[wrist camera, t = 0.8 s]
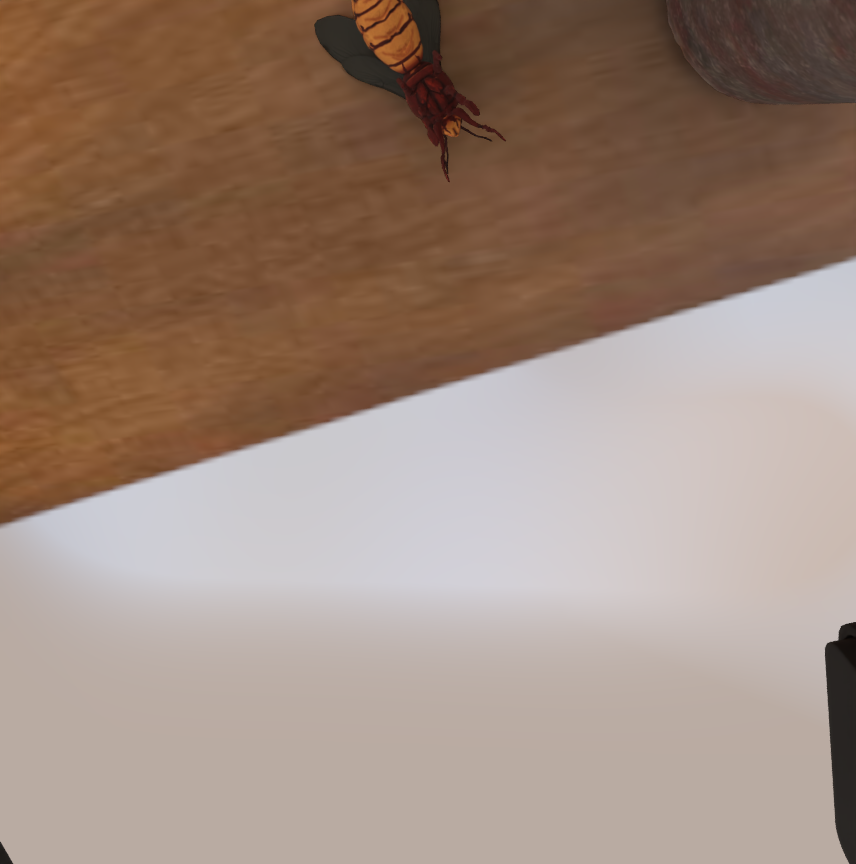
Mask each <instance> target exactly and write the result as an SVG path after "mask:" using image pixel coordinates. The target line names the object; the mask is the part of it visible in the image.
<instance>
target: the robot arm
mask: <svg viewBox="0 0 856 864" xmlns="http://www.w3.org/2000/svg"><path fill="white" fill-rule="evenodd" d="M825 661H826V677H827V694H828V707H829V708H828V709H829V726H830V743H831V759H832V774H833V790H834V807H835V823H836V830H837V834H838V838H839V841H840V844H841V847H842V849H843V851H844V854H845V856H846V858H847V860H848V862H849V864H856V622H853V623H849V624H845V625H843V626H841V628H840V630H839V640H838V641H833V642H829V643H827V645H826V647H825ZM0 864H13V863H12V861H11V859H10V858H9V856H8V854H7V852H6V851H5V849H4V847H3V845H2V844H1V842H0Z"/></svg>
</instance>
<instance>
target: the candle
mask: <svg viewBox="0 0 856 864" xmlns="http://www.w3.org/2000/svg"><path fill="white" fill-rule="evenodd" d="M666 1H667V12H668V22H669V25H670V27H671V30H672V32H673V35H674V38H675V41H676V42H677V43H678V44H679V45H680V47H681V50H682V52H683V55H684V57H685V58H686V59H687V61H688V62H689V63H690V64H691V66H692V67H693V68H694V69H695V70H696V71H697V72H698V73H699V75H700V76H701V77H702V78H703V79H704V80H705V81H706V82H707V83H708V84H710V85H711V86H712V87H713V88H714V89H715V90H717V91H719V92H721V93H724V94H726V95H728V96H730V97H733V98H736V99H739V100H743V101H746V102H750V103H759V104H775V105H776V104H830V103H856V0H666Z"/></svg>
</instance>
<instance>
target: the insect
mask: <svg viewBox="0 0 856 864" xmlns="http://www.w3.org/2000/svg"><path fill="white" fill-rule="evenodd" d="M352 9H353V14H354V17H355V20H354V19H350V18H347V17H344V16H340V15H335V16H327V17H324V18H322V19H320V20H317V22H316V23H315V31H316V35H317V37H318V39H319V41H320V44H321V45H322V46H323V47H324V48H325V49H326V50H327V51H328V53H329V54H330V55H331V56H332V57H333V58H335V59H336V60H337V61H339V62H340V63H341V64H342V66H343V68H344V69H345V71H346V72H347V73H348V74H350V75H351V76H353V77H355V78H356V79H358V80H360V81H362V82H365V83H368V84H370V85H373V86H376V87H379V88H383V89H385V90H387V91H390V92H392V93H394V94H396V95H398V96H400V97H402V98H404V99H405V100H407V103H408V105H409V107H410V109H411V110H412V112H413V113H414V114H415V115H416V116H417V117H418V118H421V120H422V122H423V123H424V124H425V127H426V128H427V129H428V137H429V139H430V140H431V142H432V143H433V144H434V145H435V146H438V144H439V141H440V145H441V149H442V156H441V163H442V169H443V171H444V174H445V176H446V179H447V180H448V182H450V180H449V177H448V175H447V174H448V147H447V137H446V136H448V135H449V136H452V137H457V136H458V135H459V132H460V128H461V129H463V130H465V131H467V132H469V133H470V134H472V135H474V136H476V137H480V138H484V139H487V140H489V141H492V140H490V139H488V138H486V137H483V136H478V135H475V134H474V133H472V132H471V131H469V130H468V129H466V128H464V127H462V126H461V123H462V119H463V120H464V121H466V122H467V123H469V124H471V125H473V126H475V127H478V128H482V129H486V131H487V132H495V133H496V134H497V135H498V136H499V137H500V138H501V139H502V140H504V141H506V140H505V139H504V138H503V136H502V135H501V134H500V133H499V132H497V131H496V130H495V129H492V128H490V127H488V126H487V125H480V124H478V123H476V122H475V121H474V120H472V119H471V118H470V117H469V115H468V114H467V113H466V112H465V111H464V110H463V109H461V108H459V107H458V108H456V107H457V105H458V103H459V104H460V105H465V106H466V108H468V109H469V110H470V111H471V112H472V113H473V114H474V115H475V116H479V115H480V112H479V109H478V108H477V106H476V105H475V104H474V103H473V102H472V101H469V100H466V97H464V96H462V95H461V94H459V93H458V92H457V91H456V90H455V89H454V86H453V83H452V82H451V80H450V79H449V77H448V76H447V75H446V74H445V73H444V72H443V71H442V69H441V61H440V60H442V56H441V55H440V33H441V16H440V10H439V4H438V1H437V0H352ZM433 125H434V127H433ZM443 136H444V137H443ZM444 138H445V143H444ZM445 147H446V152H447V162H446V161H445V159H444V158H445ZM445 167H446V169H447V172H446V170H445Z"/></svg>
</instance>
